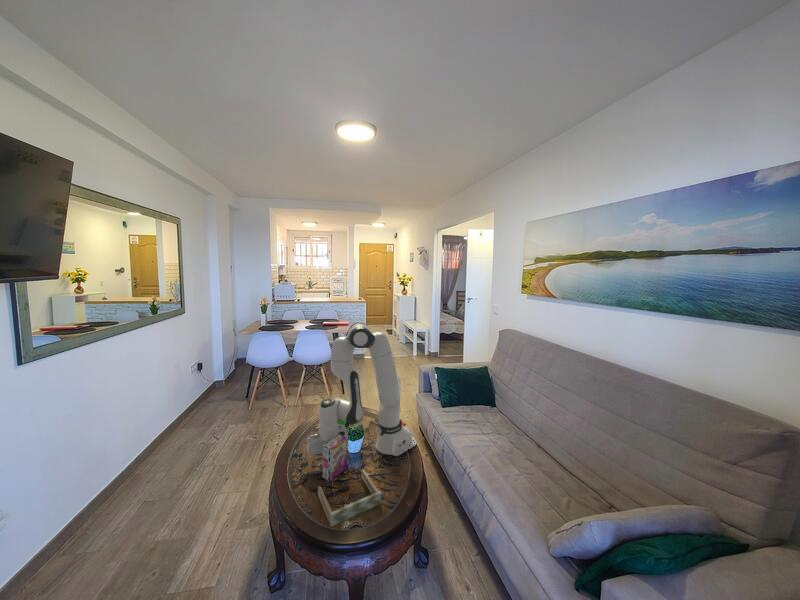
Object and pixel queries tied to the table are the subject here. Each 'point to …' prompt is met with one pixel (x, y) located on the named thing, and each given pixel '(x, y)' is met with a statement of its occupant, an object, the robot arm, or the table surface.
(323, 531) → the table surface
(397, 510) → the table surface
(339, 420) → the fruit basket
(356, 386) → the robot arm
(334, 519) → the dock
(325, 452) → the candy bar box
